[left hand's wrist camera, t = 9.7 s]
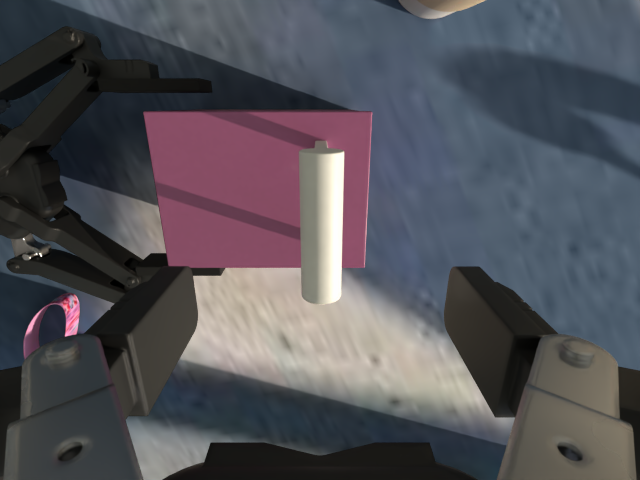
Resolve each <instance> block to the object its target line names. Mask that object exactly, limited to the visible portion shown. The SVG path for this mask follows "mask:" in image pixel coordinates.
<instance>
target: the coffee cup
mask: <svg viewBox="0 0 640 480" xmlns="http://www.w3.org/2000/svg"><path fill="white" fill-rule="evenodd" d="M398 1H399V2H400V3H401V5H402V6H403V7H404V8H405V9H406V10H407V11H409V12H410V13H412V14H414V15H416V16H418V17H421V18H426V19H436V18H441V17H444V16H447V15H449V14H451V13H453V12H455V11H460V10H464V9H466V8H469V7H471V6H474V5H476V4H478V3H480V2H483V1H485V0H398Z"/></svg>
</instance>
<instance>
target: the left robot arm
mask: <svg viewBox="0 0 640 480" xmlns="http://www.w3.org/2000/svg"><path fill="white" fill-rule="evenodd" d="M523 301H524V300H523V299H521V298H520V297H519V296H518V295H517V294H516V293H515V292H514V291H513V290H511V289H509V288H507V287H506V286H504V285H502V284H500V283H498V282H494V281H493V280H492V279H491V278H490V277H489V276H488V275H487V274H486V273H485V272H484V271H483V270H482V269H481V268H480V267H452V269H451V271H450V274H449V281H448V288H447V295H446V302H445V309H444V322H445V327H446V330H447V332H448V334H449V336H450V338H451V340H452V341H453V343H454V345H455V347H456V348H457V350H458V352H459V354H460V356H461V357H462V359H463V361H464V363H465V364H466V366H467V368H468V370H469V372H470V373H471V375H472V377H473V379H474V380H475V382H476V384H477V386H478V388H479V389H480V391H481V393H482V395H483V396H484V398H485V400H486V402H487V404H488V405H489V407H490V409H491V411H492V412H493V414H494V416H495V417H515V421H514V424H513V427H512V430H511V434H510V437H509V440H508V444H507V447H506V450H505V454H504V457H503V460H502V464H501V467H500V470H499V474H498V477H497V480H640V371H638V370H633V369H628V368H623V367H618V365H617V362H616V360H615V359H614V358H613V357H612V356H611V355H610V354H609V353H608V352H607V351H605V350H604V349H602V348H601V347H599V346H597V345H595V344H594V343H592V342H589V341H587V340H584V339H581V338H578V337H574V336H570V335H564V334H558V333H557V332H556V331H555V330H554V329H553V328H552V327H551V326H550V325H549V324H548V323H547V322H546V321H544V320H543V319H542V318H541V317H540V316H539V315H538V314H537V313H536V312H535V311H532V308H531V307H530V306H529V305H528V304H527V303H526V302H523ZM197 321H198V309H197V302H196V295H195V288H194V281H193V274H192V270H191V268H190V267H189V266H163V267H161V268H160V269H159V270H158V271H157V272H156V273H155V274H154V276H153V277H152V278H151V279H150V280H149V281H148V282H143V283H141V284H139V285H137V286H136V287H134V288H132V289H130V290H129V291H128V292H127V293H126V294H124V295H123V296H122V297H121V298H120V299H119V302H116V303H115V304H114V305H113V306H112V307H111V310H108V311H107V312H106V313H105V314H104V315H103V316H102V317H101V318H100V319H99V320H98V321H97V322H95V323H94V324H93V325H92V326H91V327H90V328H89V329H88V330H87V331H86V332H85V333H84V334H76V335H70V336H66V337H62V338H59V339H56V340H53V341H51V342H48V343H46V344H45V345H43V346H41V347H39V348H38V349H36V350H35V351H33V352H32V353H31V354H30V355H29V356H28V357H27V358H26V359H25V360H24V362H23V365H22V366H20V367H14V368H9V369H4V370H0V480H143V477H142V474H141V470H140V467H139V464H138V460H137V457H136V454H135V450H134V447H133V444H132V440H131V437H130V434H129V430H128V427H127V424H126V421H125V420H126V418H127V417H128V416H148V414H149V413H150V411H151V409H152V407H153V405H154V404H155V402H156V400H157V398H158V396H159V395H160V393H161V391H162V389H163V387H164V386H165V384H166V382H167V380H168V378H169V377H170V375H171V373H172V371H173V369H174V368H175V366H176V364H177V362H178V360H179V359H180V357H181V355H182V353H183V351H184V350H185V348H186V346H187V344H188V342H189V341H190V339H191V337H192V335H193V333H194V332H195V329H196V326H197ZM163 480H477V479H475V478H474V477H472V476H470V475H468V474H466V473H464V472H462V471H460V470H458V469H455V468H452V467H449V466H447V465H444V464H440V463H437V462H435V459H434V456H433V452H432V449H431V446H430V443H372V444H368V445H364V446H360V447H356V448H352V449H348V450H344V451H340V452H336V453H332V454H327V455H322V456H318V455H313V454H308V453H304V452H300V451H296V450H292V449H288V448H284V447H280V446H276V445H272V444H268V443H210V446H209V449H208V452H207V456H206V459H205V462H204V463H200V464H196V465H193V466H191V467H188V468H185V469H182V470H180V471H178V472H176V473H174V474H172V475H170V476H168V477H166V478H165V479H163Z"/></svg>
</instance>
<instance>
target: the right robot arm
mask: <svg viewBox="0 0 640 480" xmlns="http://www.w3.org/2000/svg"><path fill="white" fill-rule="evenodd" d="M72 67H73V68H72ZM71 68H72V69H71ZM69 69H71V70H70V71H69V72H68V73H67V74H66V75H65V77H64V78H63V79H62V80H61V81H60V82H59V83H58V84H57V86H56V87H55V88H54V89H53V90H52V91H51V92H50V93H49V94H48V96H47V97H46V98H45V99H44V100H43V101H42V102H41V103H40V104H39V106H38V107H37V108H36V109H35V110H34V111H33V112H32V113H31V114H30V116H29V117H28V118H27V119H26V120H25V121H24V122H23V123H22V124H21V125H20V126H18V127H15V128H14V129H12V130H11V129H10V128H8V127H7V126H5V125H2V124H0V235H3V236H5V237H7V238H10V239H11V241H12V245H13V250H14V254H15V257H14V258H12V259H10V260H8V261H7V268H8V269H9V270H10V271H11V272H13V273H19V274H32V275H40V276H42V277H45V278H48V279H50V280H53V281H56V282H58V283H61V284H64V285H66V286H69V287H72V288H74V289H77V290H80V291H83V292H85V293H88V294H91V295H93V296H96V297H99V298H101V299H104V300H107V301H109V302H112V303H116V302H119V299H120V298H121V297H122V296H123V295H124V294H126V293H127V292H128V291H129V290H130V289H132V288H134V287H136V286H137V285H139V284H141V283H143V282H148V281H149V280H150V279H151V278H152V277H153V276H154V274H155V273H156V272H157V271H158V270H159V269H160V268H161V267H163V266H168V260H167V254H166V253H151V254H150V255H148V256H147V257H146V258H145V259H144V260H142V259H141V258H139V257H138V256H136V255H135V254H133V253H132V252H130V251H128V250H127V249H125V248H124V247H122V246H121V245H119V244H118V243H116V242H115V241H113V240H111V239H110V238H108V237H107V236H105V235H104V234H102V233H101V232H99V231H97V230H96V229H94V228H93V227H91V226H90V225H88V224H87V223H85V222H83V221H82V220H81V216H80V215H79V214H78V213H76V212H75V211H73V210H72V209H70V208H69V207H67V206H65V205H64V201H66V200H67V196H66V193H65V190H64V188H63V186H62V184H61V182H60V169H59V165H58V162H57V160H53V159H52V157H51V156H50V154H49V152H50V151H51V150H52V149H53V148H54V147H55V146H56V145H57V144H58V143H59V142H60V140H61V135H62V134H63V133H64V132H65V131H66V130H67V129H68V128H69V127H70V126H71V125H72V124H73V123H74V122H75V120H76V119H77V118H78V117H79V116H80V115H81V114H82V113H83V112H84V111H85V110H86V109H87V108H88V107H89V106H90V105H91V104H92V102H93V101H94V100H95V99H96V98H97V97H98V96H99V95H100V94H101V93H102V92H117V93H212V86H211V81H208V80H204V79H199V78H181V79H159V72H158V65H155V64H153V63H151V62H147V61H143V60H108V59H107V58H106V57H105V56H104V54H103V53H102V51H101V43H100V40H99V39H98V37H97V36H95V35H94V34H91V33H88V32H84V31H81V30H78V29H75V28H72V27H67V26H66V27H62V28H61V29H59V30H58V31H56V32H54V33H53V34H51V35H49V36H48V37H46V38H44V39H43V40H41V41H40V42H38V43H36V44H35V45H33V46H31V47H30V48H28V49H27V50H25V51H23V52H22V53H20V54H18V55H17V56H15V57H13V58H12V59H10V60H9V61H7V62H5V63H4V64H2V65H0V114H1V113H3V112H5V111H6V109H7V108H10V106H11V104H10V102H9V100H15V99H18V98H21V97H23V96H25V95H26V94H28V93H30V92H32V91H33V90H35V89H37V88H38V87H40V86H42V85H43V84H45V83H47V82H49V81H50V80H52V79H54V78H55V77H57V76H59V75H60V74H62V73H64V72H66V71H67V70H69ZM53 217H54V218H55V219H56V220H54V221H51V222H50V221H49V220H51V219H52V218H53ZM32 234H34V235H36V236H37V237H39V238H41V239H43V240H45V241H54V242H56V243H57V244H59V245H61V246H62V247H64V248H66V249H67V250H69V251H70V252H72V253H74V254H75V255H77V256H75V255H73V254H70V253H67V252H64V251H61V250H57V249H51V245H50V244H48V243H45V244H43V243H40V242H37V241H36V240H35V239H34V238H33V235H32ZM224 269H225V268H191V270H192V274H193V276H221V274H222V273H223V271H224Z"/></svg>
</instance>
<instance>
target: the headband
mask: <svg viewBox="0 0 640 480" xmlns="http://www.w3.org/2000/svg"><path fill="white" fill-rule="evenodd" d="M52 304H58V305H60V306H61V307H62V308H63V309H64V311H65V315H66V331H65V337H66V336H70V335H76V334H77V328H78V322H79V310H80V309H79V301H78V298H77V297H76V295H74V294H72V293H66V294H63V295H61V296H59V297H58V298H56V299H55V300H53V301H52V302H51V303H49V304H48V305H47V306H45V307H44V308H42V309H41V310H40V311H39V312H38V313H37V314H36V315H35V316H34V318H33V319H32V321H31V322H30V324H29V326H28V328H27V331H26V334H25V337H24V342H23V345H24V358H25V359H26V358H27V357H28V356H29V355H30V354H31V353H32V352H33V351H35V350H36V349H38V348H39V347H40V346H39V328H40V323H41V320H42V318H43V315H44V313H45V312H46V310H47V308H48V307H49V306H50V305H52Z"/></svg>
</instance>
